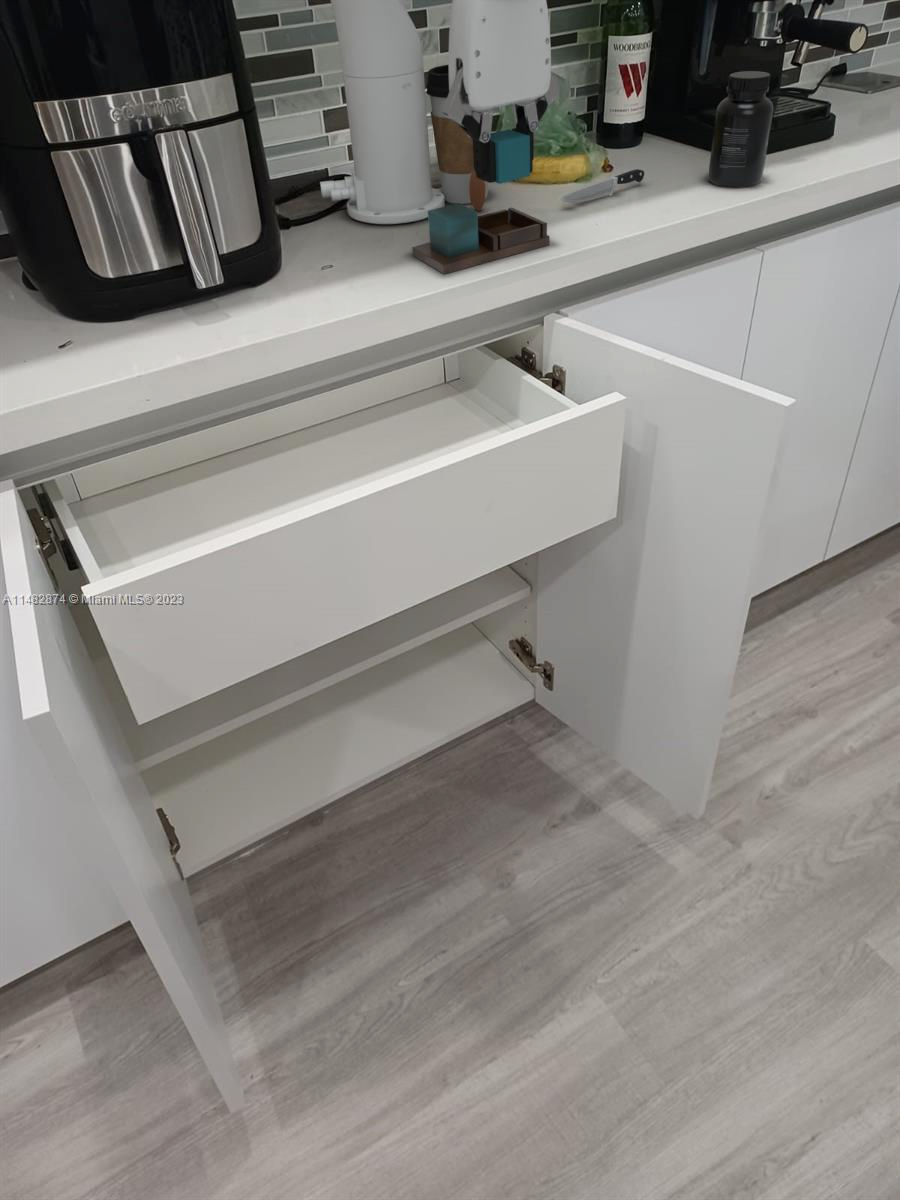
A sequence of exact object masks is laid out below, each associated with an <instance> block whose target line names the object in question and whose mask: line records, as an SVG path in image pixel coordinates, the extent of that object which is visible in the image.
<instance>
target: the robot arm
mask: <svg viewBox="0 0 900 1200" xmlns="http://www.w3.org/2000/svg"><path fill="white" fill-rule="evenodd" d="M329 1H330V4H331V8H332V13H333V17H334V22H335V28H336V34H337V40H338V47H339V54H340V62H341V70H342V77H343V85H344V95H345V103H346V109H347V118H348V119H347V120H348V126H349V135H350V143H351V152H352V161H353V167H354V168H352V169H351V175H350V176H344V179H342V180H326V181H325V180H324V181H319V185H320V193H321V198H322V199H329V198H330V199H331V201H332V202H336V201H342V200H348V201H347V202H346V211H347V215H349V217H350V218H351V219H354V220H356V221H358V222H361V223H366V224H373V225H399V224H406V223H407V224H408V223H412V222H418V221H422V220H425V219H428V211H429V210H433V209H437V208H441V207H445V206H446V201H445V196H444V194H443V193H442V191H440V190H439V189H437V188H434V187H433V185H432V172H431V156H430V155H431V154H430V141H429V128H428V127H429V126H428V113H427V98H426V83H425V82H426V81H425V70H424V69H425V68H424V54H423V46H422V42H421V38H420V35H419V33H418V30H417V28H416V26H415V23H414V22H413V20H412V18H411V16H410V15H409V12H408V10H407V9H406V6H405V5H404V2H403V0H329ZM547 3H548V2H547V0H451V8H450V18H449V27H448V28H449V31H448V65H449V94H448V97H447V99H446V101H445V104H444V106H443V109H442V114H443V115H444V116H445V117H447V118H448V119H450V120H451V121H453V122H455V123H457V124H458V125H459V126H460V127H461V128H462V129H463V130H464V131H465V132H466V133H467V135H468V137H469V138H471V139H473V160H474V170H475V172H476V176H477V178H479V179H481V180H484V181H486V182H488V184H491V183H496V182H495V180H496V160H495V143H494V141H491V140H490V136H491V133H492V129H491V127H492V128H493V116H494V110H495V109H496V108H502V107H506V106H512V111H513V117H514V124H515V127H513V128H511V130H512V131H516V132H519V133H522V134H525V135H528V136H530V174H532V173H533V169H534V167H533V165H534V163H533V161H534V158H535V157H534V156H535V152H534V151H535V147H534V146H535V139H534V137H535V136H534V135H535V132H537V131H538V129H539V126H540V125H539V124H540V123H539V122H541V119H542V118H543V116H544V115H545V113H546V111H547V110H548V107H549V106H550V105H551V104H552V103H553V102H554V101H555V100H556V99H557V98H558V97H559V95H560V93H561V87H560V85H559V83H558V81H557V79H556V78H555V75H554V73H553V72H552V47H551V46H552V45H551V29H550V18H549V9H548V4H547ZM464 104H470V109H469V114H467V113H466V112H464V111H463V110H462V105H464Z"/></svg>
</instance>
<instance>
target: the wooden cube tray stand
mask: <svg viewBox="0 0 900 1200" xmlns="http://www.w3.org/2000/svg"><path fill="white" fill-rule="evenodd" d="M478 214H479V213H478V211H476V210H475V209H472V208H470V207H468V206H467V205H465V204H460V203H457V204H455V203H452V204H450V205H445V206H444V207H441V208H437V209H433V210H429V211H428V218H427V219H428V232H429V242H426V243H421V244H418V245H415V246H412V247H411V250H412V251H411V252H412V256H413V257H414V258H416V259H417V260H419V261H421V262H423V263H425V264H426V265H428V266H430V267H432V268H433V269H435V270H436V271H438V272H440V273H441V274H442V275H446V274H449V273H453V272H457V271H460V270H464V269H467V268H468V269H469V268H472V267H476V266H478V265H482V264H486V263H489V262H492V261H496V260H500V259H504V258H508V257H511V256H515V255H518V254H521V253H525V252H528V251H532V250H536V249H539V248H542V247H546V246H549V245H550V243H551V241H550V240H551V237H550V235H548V223H547V222H546V221H543V220H541V219H539V218H537V217H535V216H532V215H529V214H527V213H526V212H523V211H520V210H518V209H516V208H514V207H508V208H507V209H506V208H505V209H500V210H497V211H493V212H489V213H485V214H481V215H478Z"/></svg>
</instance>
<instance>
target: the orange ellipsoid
mask: <svg viewBox="0 0 900 1200" xmlns="http://www.w3.org/2000/svg"><path fill="white" fill-rule="evenodd" d="M469 193H470V200H471V203H470V204H471V206H472V208H473V210H474V211H476V212H480V211H481V210H482V209H483V207H484V204H485V201H486V199H485V181H484V180H481V179H479V178H477V176H476V172H475V170H473V171H472V174H471V177H470V183H469Z"/></svg>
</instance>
